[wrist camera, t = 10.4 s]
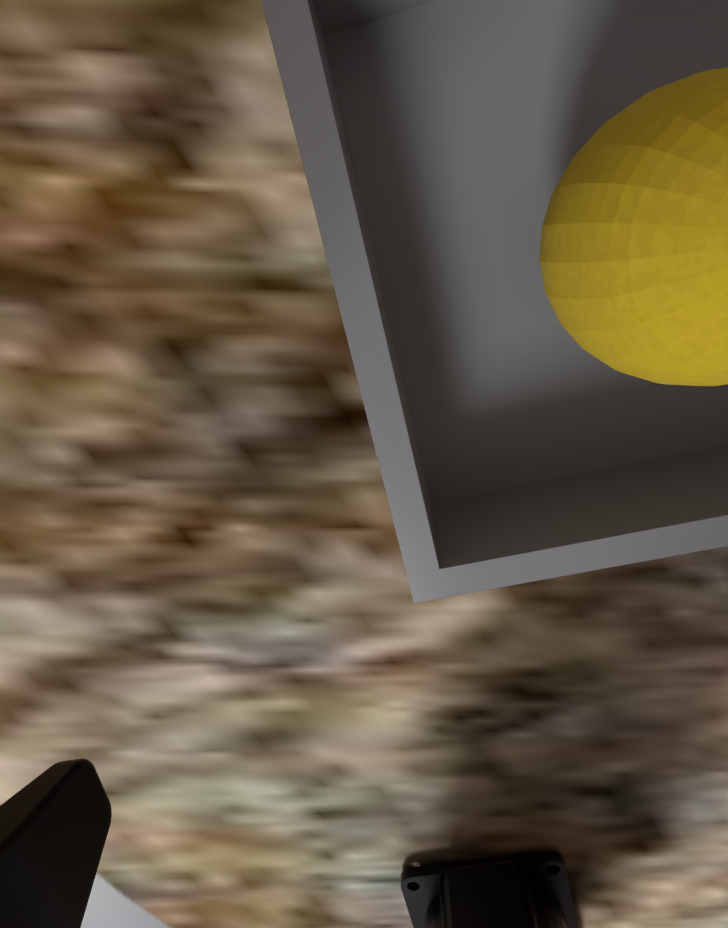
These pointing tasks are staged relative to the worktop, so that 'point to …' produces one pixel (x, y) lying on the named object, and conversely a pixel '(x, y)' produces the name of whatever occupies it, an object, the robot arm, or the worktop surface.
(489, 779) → the worktop surface
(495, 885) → the robot arm
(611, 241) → the lemon
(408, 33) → the box
